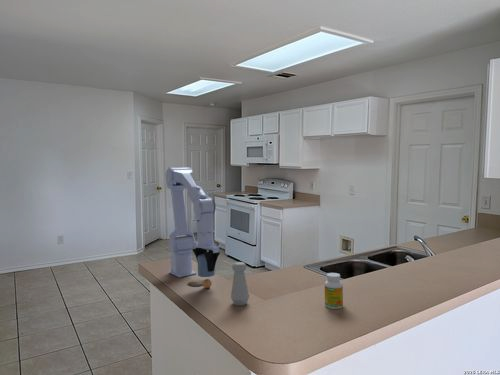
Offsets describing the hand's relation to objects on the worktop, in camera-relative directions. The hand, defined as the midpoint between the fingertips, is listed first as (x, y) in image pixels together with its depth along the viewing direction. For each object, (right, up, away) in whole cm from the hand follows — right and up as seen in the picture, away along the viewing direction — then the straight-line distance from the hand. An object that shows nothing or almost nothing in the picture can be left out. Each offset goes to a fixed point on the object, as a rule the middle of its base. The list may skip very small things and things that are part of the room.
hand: (206, 269), depth 127 cm
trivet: (-4, -7, +6) cm, 10 cm away
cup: (0, -2, 0) cm, 2 cm away
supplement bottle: (+41, -7, -19) cm, 46 cm away
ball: (0, -5, 0) cm, 5 cm away
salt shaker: (+13, -7, -15) cm, 21 cm away
